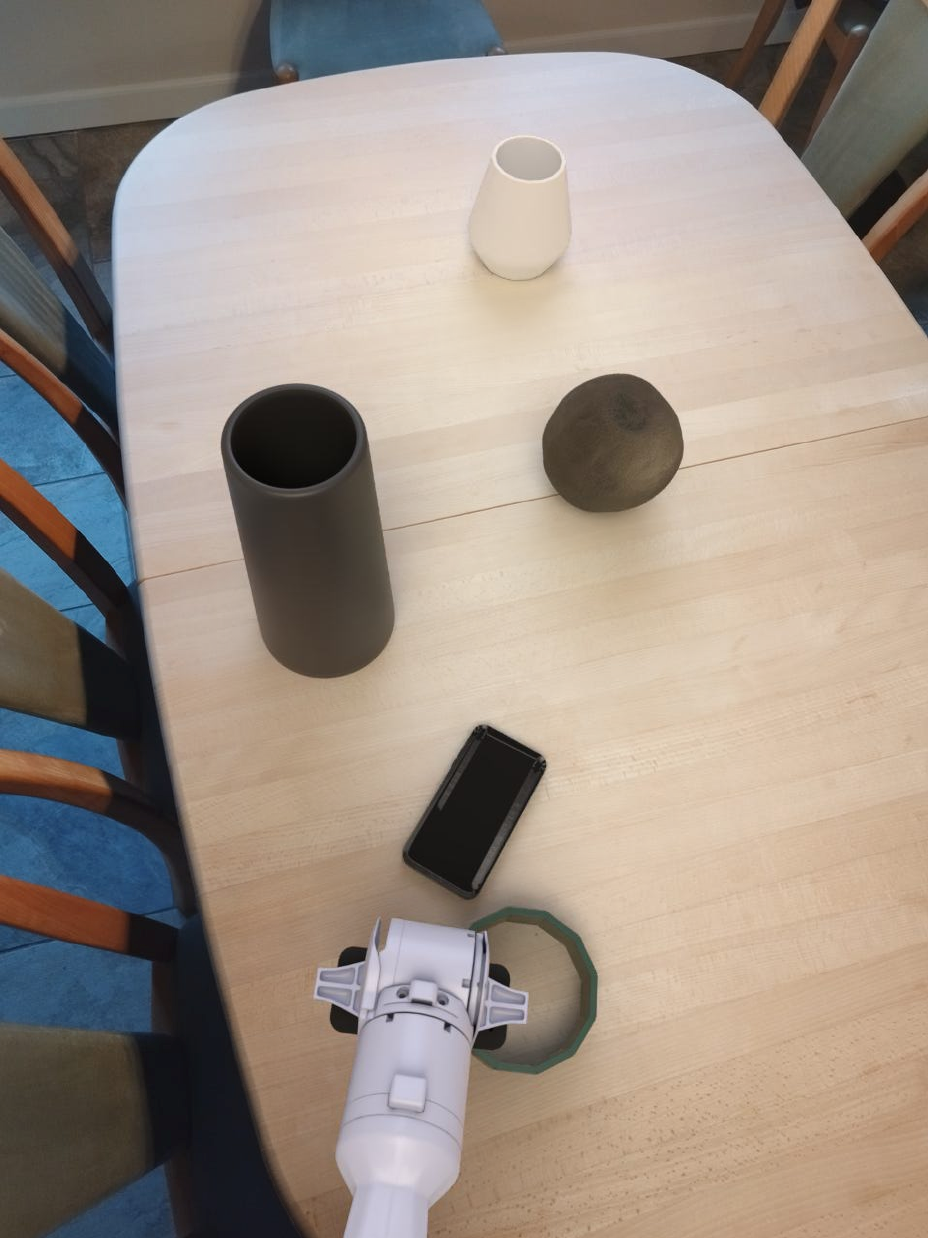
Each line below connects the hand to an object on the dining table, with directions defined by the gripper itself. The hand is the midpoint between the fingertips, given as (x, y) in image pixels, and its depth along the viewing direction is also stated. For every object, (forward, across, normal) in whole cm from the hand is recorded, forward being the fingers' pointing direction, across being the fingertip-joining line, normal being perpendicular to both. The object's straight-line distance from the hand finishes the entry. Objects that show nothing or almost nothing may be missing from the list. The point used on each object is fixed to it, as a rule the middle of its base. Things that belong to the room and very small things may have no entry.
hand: (420, 1003), depth 67 cm
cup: (+7, -1, -91) cm, 91 cm away
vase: (+7, +14, -35) cm, 38 cm away
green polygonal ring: (+6, -8, -2) cm, 10 cm away
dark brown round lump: (+7, -13, -55) cm, 57 cm away
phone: (+6, -3, -17) cm, 19 cm away
